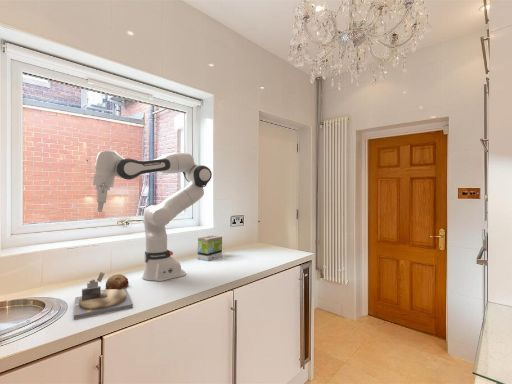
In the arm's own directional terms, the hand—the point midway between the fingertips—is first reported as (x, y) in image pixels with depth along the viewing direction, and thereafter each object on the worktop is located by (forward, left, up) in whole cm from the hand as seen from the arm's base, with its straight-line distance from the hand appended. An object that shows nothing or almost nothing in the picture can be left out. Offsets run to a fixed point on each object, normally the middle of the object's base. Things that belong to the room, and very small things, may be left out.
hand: (99, 210), depth 137 cm
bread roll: (-7, +4, -38) cm, 39 cm away
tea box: (-68, -27, -37) cm, 82 cm away
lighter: (+2, +4, -37) cm, 38 cm away
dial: (0, +24, -35) cm, 43 cm away
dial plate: (0, +24, -37) cm, 44 cm away
